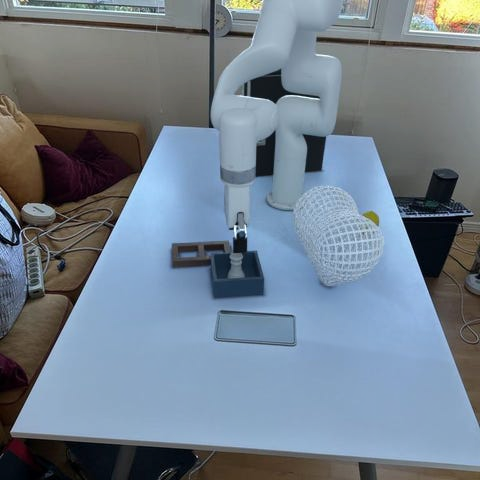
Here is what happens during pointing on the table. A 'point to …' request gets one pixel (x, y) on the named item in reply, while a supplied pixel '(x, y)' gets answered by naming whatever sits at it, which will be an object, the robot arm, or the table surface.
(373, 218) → the lemon
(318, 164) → the binder
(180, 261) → the stand
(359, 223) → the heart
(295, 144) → the robot arm
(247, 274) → the blue open box
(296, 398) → the table surface
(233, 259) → the rook chess piece
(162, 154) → the table surface
